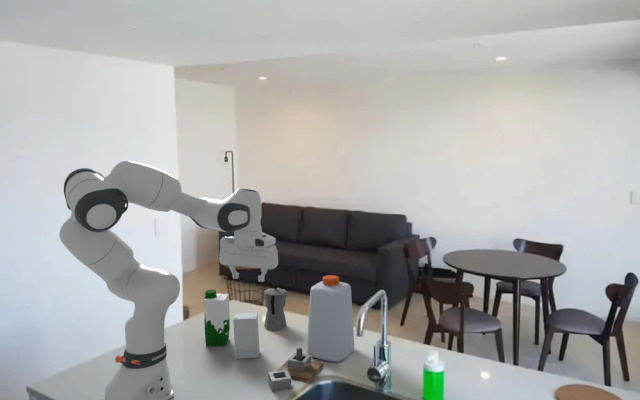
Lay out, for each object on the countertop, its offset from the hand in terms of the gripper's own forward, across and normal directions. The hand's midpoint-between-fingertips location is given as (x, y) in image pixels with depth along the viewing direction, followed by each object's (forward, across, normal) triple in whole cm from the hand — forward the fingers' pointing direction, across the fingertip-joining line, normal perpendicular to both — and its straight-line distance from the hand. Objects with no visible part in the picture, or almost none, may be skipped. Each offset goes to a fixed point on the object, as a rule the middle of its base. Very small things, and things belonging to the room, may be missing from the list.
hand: (248, 279), depth 159 cm
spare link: (+31, +14, -6) cm, 34 cm away
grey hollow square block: (+30, +16, +5) cm, 34 cm away
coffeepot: (+31, -8, +36) cm, 48 cm away
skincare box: (+31, -6, +9) cm, 33 cm away
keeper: (+31, +16, +5) cm, 35 cm away
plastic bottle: (+31, +21, +22) cm, 43 cm away
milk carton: (+31, -22, +15) cm, 41 cm away
